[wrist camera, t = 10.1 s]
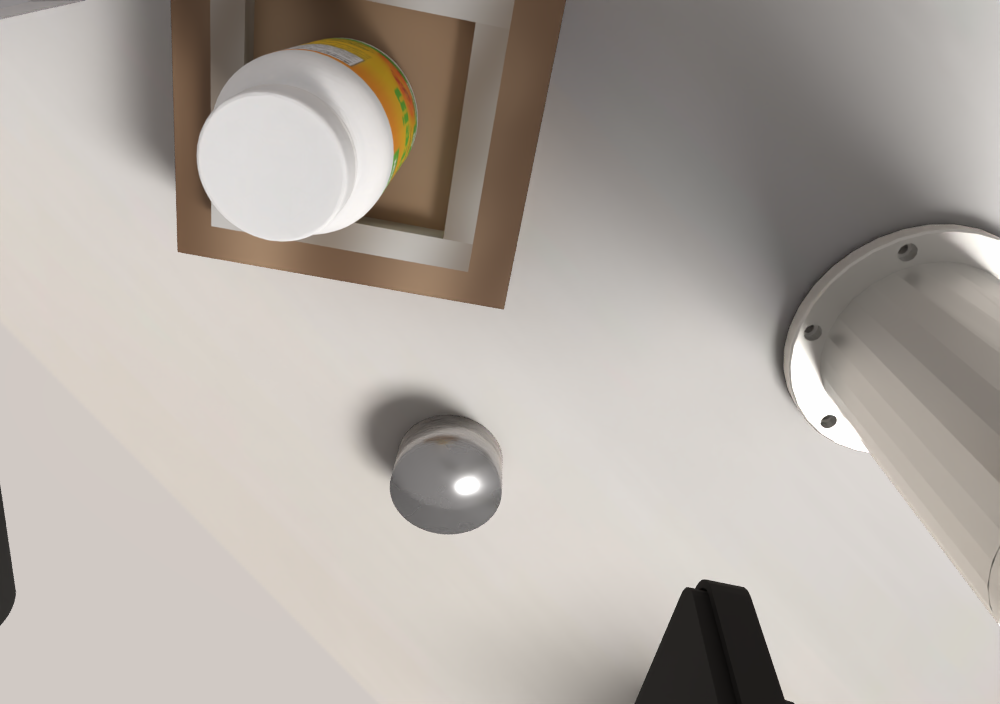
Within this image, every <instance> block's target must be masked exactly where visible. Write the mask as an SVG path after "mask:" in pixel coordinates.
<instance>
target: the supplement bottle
mask: <svg viewBox="0 0 1000 704" xmlns="http://www.w3.org/2000/svg"><path fill="white" fill-rule="evenodd" d="M417 126H418V110H417V104H416V99H415V96H414V93H413V90H412V87H411V85H410V83H409V81H408V79H407V77H406V76H405V74H404V73H403V71H402V70H401V69H400V67H399V66H398V65H397V64H396V63H395V62H394V61H393V60H392V59H391V58H390V57H389V56H388V55H387V54H385V53H384V52H382V51H381V50H379V49H378V48H376V47H374V46H372V45H370V44H367V43H365V42H362V41H358V40H355V39H350V38H329V39H322V40H318V41H314V42H310V43H307V44H302V45H299V46H295V47H292V48H288V49H284V50H280V51H276V52H272V53H269V54H266V55H263V56H261V57H258V58H256V59H254V60H252V61H251V62H249V63H247V64H246V65H244V66H243V67H241V68H240V69H239V70H238V71H237V72H235V73H234V74H233V76H232V77H231V78H230V79H229V80H228V81H227V83H226V84H225V86H224V87H223V89H222V90H221V92H220V94H219V96H218V98H217V101H216V104H215V107H214V110H213V111H212V112H211V114H210V115H209V116H208V118H207V119H206V121H205V123H204V125H203V127H202V129H201V132H200V135H199V139H198V144H197V167H198V172H199V176H200V180H201V183H202V185H203V187H204V189H205V191H206V194H207V195H208V197H209V199H210V200H211V202H212V203H213V205H214V206H215V207H216V209H217V210H218V211H219V212H220V213H221V214H222V215H223V216H224V217H225V218H226V219H227V220H228V221H229V222H231V223H232V224H233V225H235V226H236V227H238V228H239V229H241V230H243V231H244V232H246V233H248V234H251V235H253V236H256V237H259V238H262V239H266V240H270V241H294V240H300V239H303V238H306V237H309V236H311V235H317V234H325V233H329V232H333V231H337V230H340V229H343V228H345V227H347V226H349V225H351V224H353V223H354V222H356V221H357V220H359V219H360V218H362V217H363V216H364V215H365V214H366V213H367V212H368V211H369V210H370V209H371V208H372V207H373V206H374V204H375V203H376V202H377V201H378V199H379V198H380V197H381V195H382V194H383V192H384V190H385V189H386V187H387V186H388V184H389V183H390V181H391V180H392V178H393V177H394V175H395V174H396V172H397V171H398V170H399V168H400V167H401V165H402V164H403V162H404V161H405V160H406V158H407V156H408V154H409V152H410V150H411V148H412V146H413V143H414V140H415V137H416V132H417Z"/></svg>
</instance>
